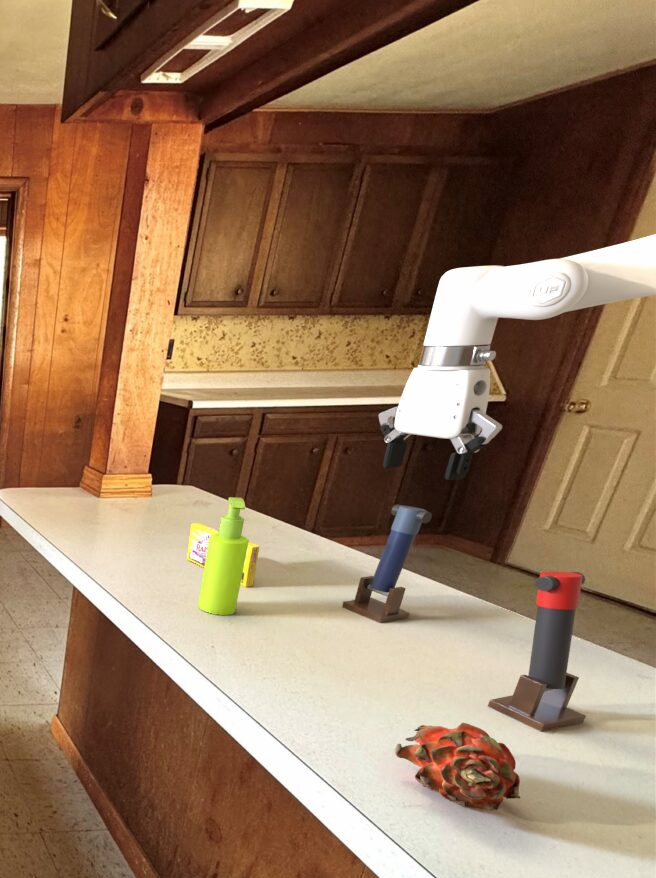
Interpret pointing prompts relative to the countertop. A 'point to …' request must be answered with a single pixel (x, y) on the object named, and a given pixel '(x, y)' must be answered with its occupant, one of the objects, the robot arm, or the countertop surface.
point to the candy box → (200, 546)
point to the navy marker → (397, 546)
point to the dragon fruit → (463, 765)
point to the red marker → (554, 626)
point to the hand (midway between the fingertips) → (421, 472)
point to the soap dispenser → (224, 563)
